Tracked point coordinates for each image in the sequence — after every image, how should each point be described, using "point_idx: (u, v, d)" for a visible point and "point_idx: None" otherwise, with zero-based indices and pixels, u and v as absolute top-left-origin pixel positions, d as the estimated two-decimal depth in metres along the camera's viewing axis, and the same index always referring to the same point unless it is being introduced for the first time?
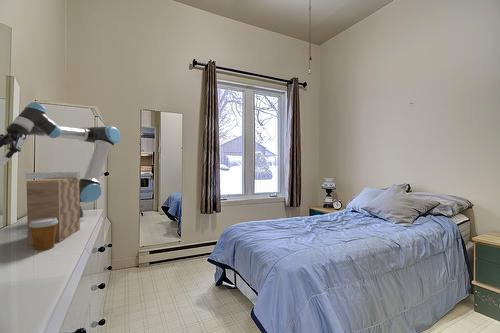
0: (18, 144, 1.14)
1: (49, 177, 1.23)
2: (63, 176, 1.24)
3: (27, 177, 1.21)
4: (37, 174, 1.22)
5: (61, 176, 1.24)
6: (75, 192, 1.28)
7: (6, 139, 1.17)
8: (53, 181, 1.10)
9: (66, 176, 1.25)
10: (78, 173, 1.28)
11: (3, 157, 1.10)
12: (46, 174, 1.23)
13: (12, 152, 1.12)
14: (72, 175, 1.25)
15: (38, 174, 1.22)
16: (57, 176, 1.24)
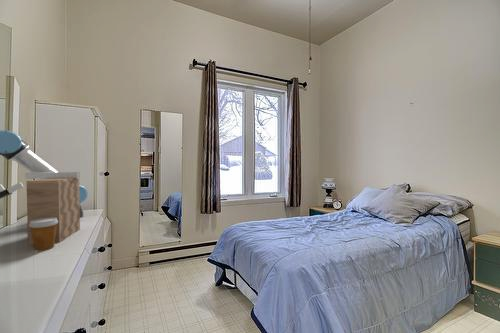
0: None
1: (49, 177, 1.23)
2: (63, 176, 1.24)
3: (27, 177, 1.21)
4: (37, 174, 1.22)
5: (61, 176, 1.24)
6: (75, 192, 1.28)
7: None
8: (53, 181, 1.10)
9: (66, 176, 1.25)
10: (78, 173, 1.28)
11: None
12: (46, 174, 1.23)
13: None
14: (72, 175, 1.25)
15: (38, 174, 1.22)
16: (57, 176, 1.24)
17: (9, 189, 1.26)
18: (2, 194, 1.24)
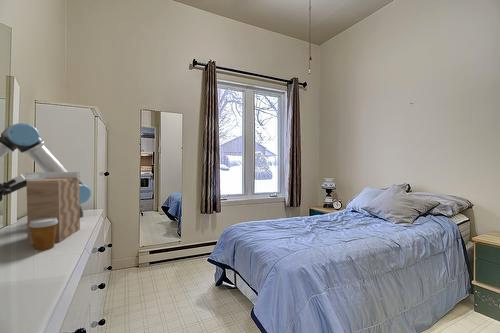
0: None
1: (49, 177, 1.23)
2: (63, 176, 1.24)
3: (27, 177, 1.21)
4: (37, 174, 1.22)
5: (61, 176, 1.24)
6: (75, 192, 1.28)
7: (6, 191, 1.20)
8: (53, 181, 1.10)
9: (66, 176, 1.25)
10: (78, 173, 1.28)
11: (18, 181, 1.15)
12: (46, 174, 1.23)
13: (7, 183, 1.13)
14: (72, 175, 1.25)
15: (38, 174, 1.22)
16: (57, 176, 1.24)
17: (28, 180, 1.27)
18: (21, 185, 1.26)
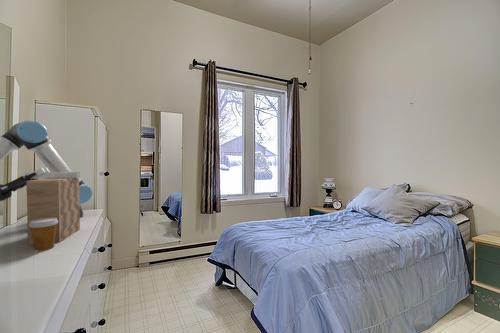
0: (18, 182, 1.17)
1: (49, 177, 1.23)
2: (63, 176, 1.24)
3: None
4: None
5: (61, 176, 1.24)
6: (75, 192, 1.28)
7: (16, 187, 1.21)
8: (53, 181, 1.10)
9: (66, 176, 1.25)
10: (78, 173, 1.28)
11: (38, 174, 1.21)
12: (46, 174, 1.23)
13: (29, 176, 1.19)
14: (72, 175, 1.25)
15: None
16: (57, 176, 1.24)
17: None
18: None
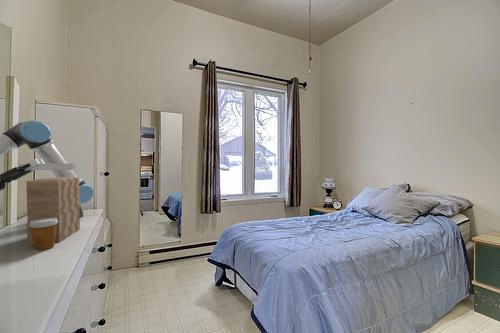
0: (11, 173, 1.13)
1: (44, 168, 1.19)
2: (58, 168, 1.21)
3: None
4: None
5: (56, 168, 1.21)
6: (75, 192, 1.28)
7: None
8: (53, 181, 1.10)
9: (61, 168, 1.21)
10: (74, 165, 1.24)
11: (32, 165, 1.18)
12: (40, 165, 1.19)
13: (22, 167, 1.16)
14: (67, 166, 1.22)
15: None
16: (52, 167, 1.20)
17: None
18: None
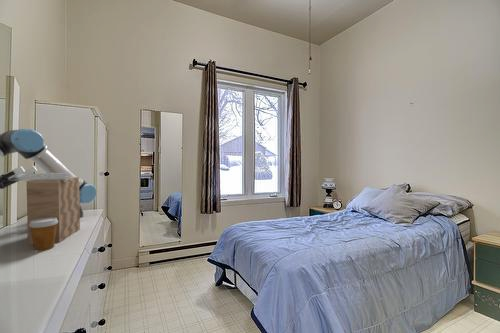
0: None
1: (35, 179, 1.11)
2: (50, 178, 1.13)
3: (10, 179, 1.09)
4: (21, 175, 1.10)
5: (48, 178, 1.13)
6: (75, 192, 1.28)
7: None
8: (53, 181, 1.10)
9: (54, 178, 1.13)
10: (67, 174, 1.16)
11: (17, 173, 1.07)
12: (31, 175, 1.11)
13: (6, 176, 1.05)
14: (60, 176, 1.14)
15: (22, 175, 1.10)
16: (43, 178, 1.12)
17: (22, 173, 1.15)
18: None
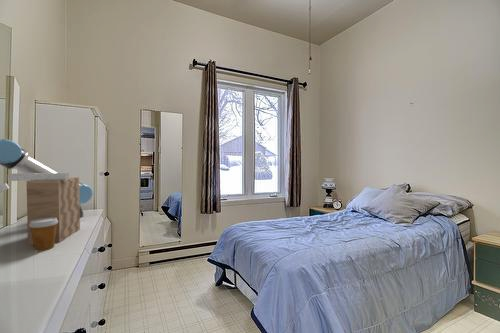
0: None
1: (35, 179, 1.11)
2: (50, 178, 1.13)
3: (10, 179, 1.09)
4: (21, 175, 1.10)
5: (48, 178, 1.13)
6: (75, 192, 1.28)
7: None
8: (53, 181, 1.10)
9: (54, 178, 1.13)
10: (67, 174, 1.16)
11: None
12: (31, 175, 1.11)
13: None
14: (60, 176, 1.14)
15: (22, 175, 1.10)
16: (43, 178, 1.12)
17: None
18: None
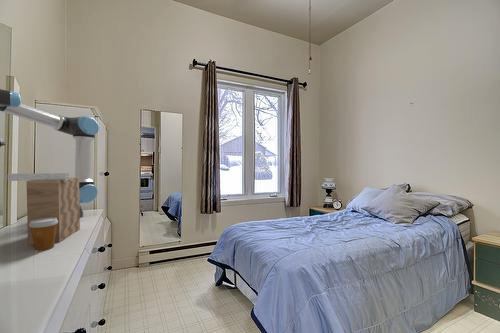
0: None
1: (35, 179, 1.11)
2: (50, 178, 1.13)
3: (10, 179, 1.09)
4: (21, 175, 1.10)
5: (48, 178, 1.13)
6: (75, 192, 1.28)
7: None
8: (53, 181, 1.10)
9: (54, 178, 1.13)
10: (67, 174, 1.16)
11: None
12: (31, 175, 1.11)
13: None
14: (60, 176, 1.14)
15: (22, 175, 1.10)
16: (43, 178, 1.12)
17: None
18: None
